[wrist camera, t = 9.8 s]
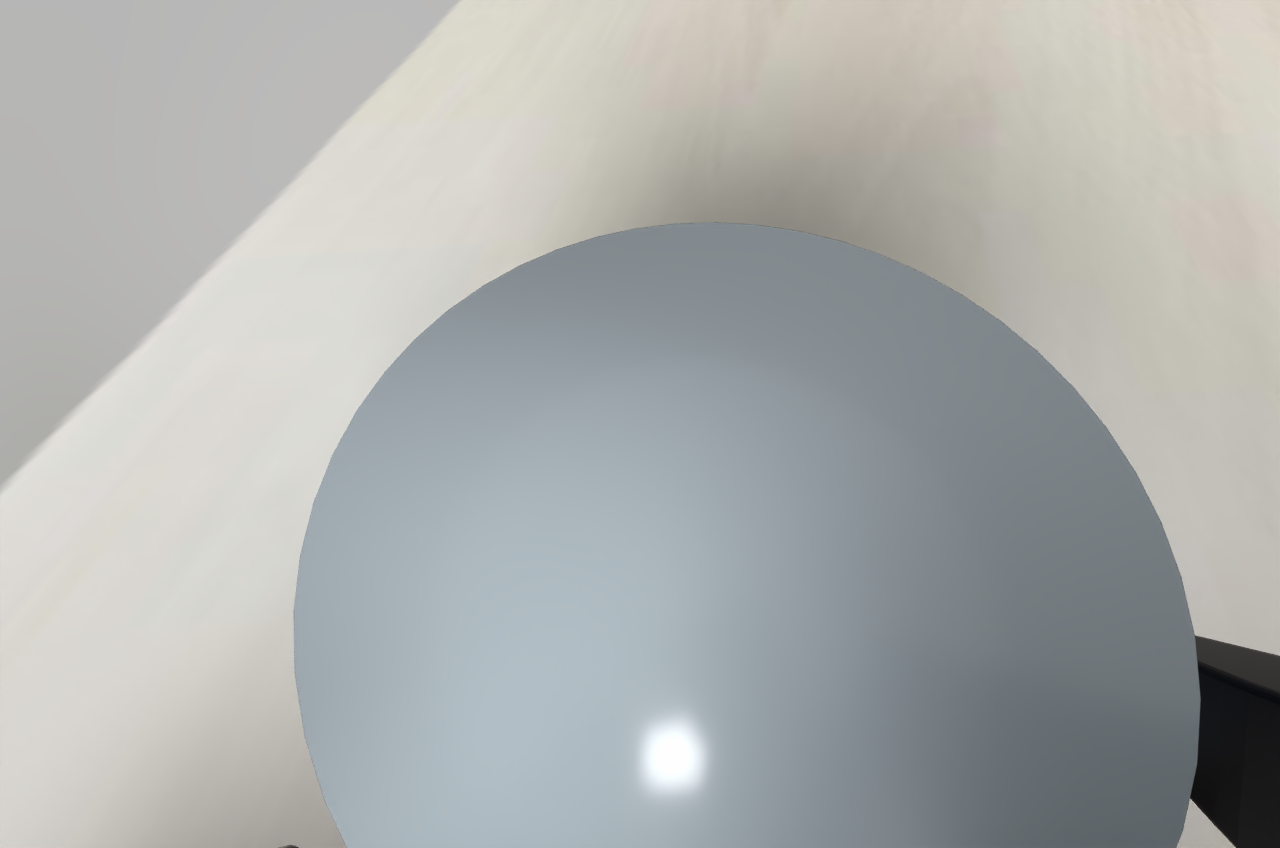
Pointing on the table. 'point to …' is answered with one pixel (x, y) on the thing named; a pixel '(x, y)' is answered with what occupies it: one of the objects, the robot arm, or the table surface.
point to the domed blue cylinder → (738, 571)
